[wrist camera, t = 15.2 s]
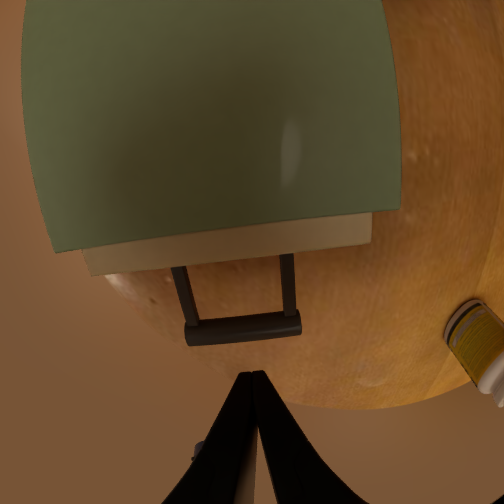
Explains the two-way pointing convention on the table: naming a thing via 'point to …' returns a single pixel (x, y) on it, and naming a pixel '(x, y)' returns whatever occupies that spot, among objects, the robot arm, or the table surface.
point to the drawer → (233, 248)
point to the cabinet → (206, 114)
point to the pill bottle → (479, 346)
